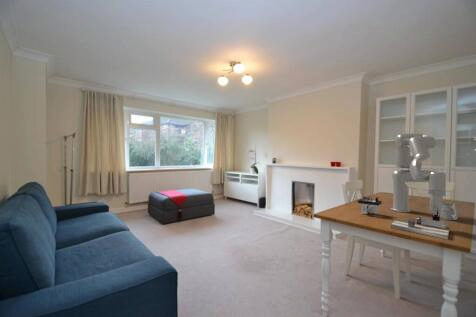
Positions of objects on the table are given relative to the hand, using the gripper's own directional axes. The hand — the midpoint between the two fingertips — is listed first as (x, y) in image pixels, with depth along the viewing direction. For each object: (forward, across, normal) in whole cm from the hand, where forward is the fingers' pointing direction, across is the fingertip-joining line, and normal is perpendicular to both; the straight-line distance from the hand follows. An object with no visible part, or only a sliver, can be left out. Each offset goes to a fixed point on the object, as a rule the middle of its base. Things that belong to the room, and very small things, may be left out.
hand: (435, 223), depth 134 cm
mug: (+3, -29, +5) cm, 30 cm away
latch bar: (+1, +5, -2) cm, 5 cm away
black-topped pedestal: (+4, -6, -37) cm, 38 cm away
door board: (+3, +9, -7) cm, 11 cm away
